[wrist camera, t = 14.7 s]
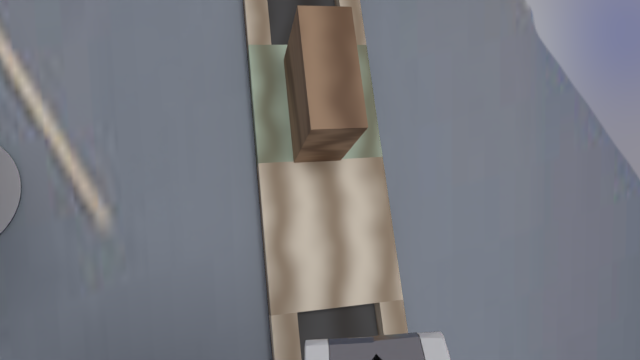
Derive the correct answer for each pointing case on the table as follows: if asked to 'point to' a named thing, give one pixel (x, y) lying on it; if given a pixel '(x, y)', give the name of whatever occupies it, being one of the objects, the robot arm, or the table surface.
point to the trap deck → (319, 206)
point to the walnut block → (324, 84)
